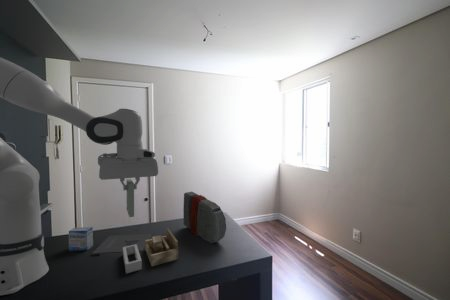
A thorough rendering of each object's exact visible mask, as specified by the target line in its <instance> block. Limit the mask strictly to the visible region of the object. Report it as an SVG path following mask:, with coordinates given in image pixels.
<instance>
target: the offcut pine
mask: <svg viewBox="0 0 450 300" xmlns="http://www.w3.org/2000/svg"><path fill="white" fill-rule="evenodd" d="M160 236H161V235H154V236H151V237H152V238H151V239H152V242H153V247H154V248H157V247H162V240H161V237H160Z"/></svg>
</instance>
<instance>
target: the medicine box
mask: <svg viewBox="0 0 450 300" xmlns="http://www.w3.org/2000/svg"><path fill="white" fill-rule="evenodd" d="M93 229H94V227H92V226H91V227H90V226H89V227H86V226H85V227H83V226H82V227H73V228H71V229H70V230H69V231H68V251H69V252H73V251H74V252H77V251H89V250H90V249H91V248H92V247H93V246H94V238H93V237H94V236H93V235H94V234H93V233H94V230H93Z"/></svg>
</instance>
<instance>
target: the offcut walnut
mask: <svg viewBox="0 0 450 300" xmlns="http://www.w3.org/2000/svg"><path fill="white" fill-rule="evenodd" d="M151 249H152V250H153V252H154V254H156V253H160V252H164V247H163V246H162V247H157V248H154V247H153V242H151Z"/></svg>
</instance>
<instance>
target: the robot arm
mask: <svg viewBox="0 0 450 300" xmlns="http://www.w3.org/2000/svg"><path fill="white" fill-rule="evenodd" d="M0 99H3V100H5V101H7V102H9V103H10V104H13V105H15V106H18V107H20V108H23V109H25V110H29V111H32V112H36V113H39V114H43V115H46V116H47V115H48V116H51V117H55V118H58V119H60V120H63V121H64V122H67V123H69V124H71V125H73V126H74V127H77V128H79V129H80V130H82V131H84V132H85V134H86V136H87V138H89V140H91V142H94V143H96V144H99V145H105V146H106V145H111V144H113V143H116V152H113V153H102V154H100V155H99V156H98V158H97V164H98V166H99V169H98V170H99V172H98V178H99V179H100V180H102V181H104V180H105V181H106V180H118V179H119V181H120V183H121V185H122V188H123V191H127V190H128V185H127V184H126V183H125V180H126V179H133V178H135V179H134V180H135V182H134V190H138V188H137V187H138V186H137V185H138V184H139V182H140V181H141V179H140V178H149V177H157V176H158V175H159V166H158V161H157V159H156V158H155V156H156V153H155V152H154V151H151V150H148V149H146V148H143V142H142V136H143V121H142V117H141V114H140V113H139V112H137V111H135V110H133V109H128V108H119V109H117V110H115V111H114V112H112V113H111V112H110V113H108V114H104V115H101V116H97V117H95V116H93V115H91V114H89V113H88V112H86V111H84V110H82V109H81V108H79V107H77V106H75V105H73V104H72V103H70V102H69V101H67V99H65V98H64V97H63V96H62V95H61V94H60V93H59V92H58V91H57V90H56V89H55V88H54V87H53V86H52V85H50V84H49V83H48V82H47V81H45V80H44V79H42V78H41V77H40V76H39V75H36V74H35V73H33V72H31V71H30V70H28V69H26V68H25V67H23V66H20V65H18V64H16V63H14V62H12V61H10V60H8V59H5V58H3V57H0ZM40 178H41V176H40V172H39V170H38V169H37V168H36V167H35V166H33V165H32V163H30V162H29V161H28V160H27V159H26V158H24V156H22V155H21V154H20V153H19V152H18V151H16V149H14V148H13V147H11V146H10V145H9V144H8V143H7V142H6V141H5V140H3V138H2V137H0V296H4V295H5V296H6V295H11V294H14V293H16V292H18V291H20V290H21V289H23V288H24V287H26V286H28V285H30V284H32V283H34V282H36V281H38V280H40V279H41V278H42V277H44V276H45V275H46V274H47V273H48V272H49V270H50V268H49V265H48V262H47V259H46V256H45V251H44V247H45V237H44V231H42V217H41V216H42V214H41V211H42V210H41V202H40V187H39V185H40Z"/></svg>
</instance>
